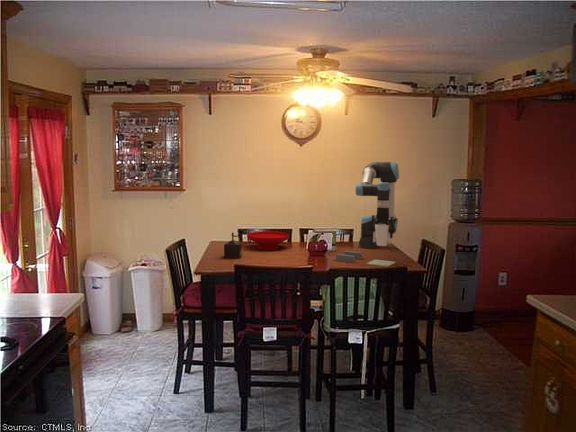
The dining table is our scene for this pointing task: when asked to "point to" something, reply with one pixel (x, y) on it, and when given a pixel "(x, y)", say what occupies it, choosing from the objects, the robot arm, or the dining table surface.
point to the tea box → (328, 232)
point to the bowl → (268, 239)
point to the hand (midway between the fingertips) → (381, 242)
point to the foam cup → (382, 234)
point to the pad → (381, 263)
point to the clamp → (348, 256)
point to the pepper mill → (233, 247)
